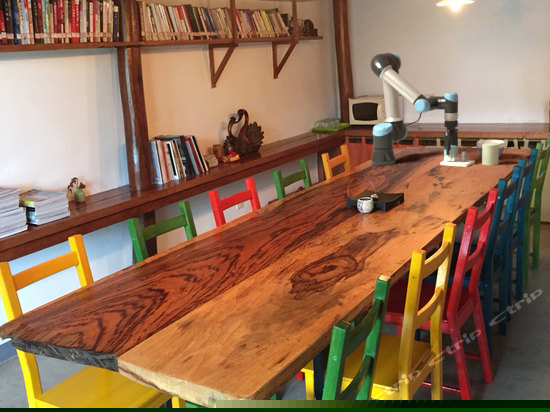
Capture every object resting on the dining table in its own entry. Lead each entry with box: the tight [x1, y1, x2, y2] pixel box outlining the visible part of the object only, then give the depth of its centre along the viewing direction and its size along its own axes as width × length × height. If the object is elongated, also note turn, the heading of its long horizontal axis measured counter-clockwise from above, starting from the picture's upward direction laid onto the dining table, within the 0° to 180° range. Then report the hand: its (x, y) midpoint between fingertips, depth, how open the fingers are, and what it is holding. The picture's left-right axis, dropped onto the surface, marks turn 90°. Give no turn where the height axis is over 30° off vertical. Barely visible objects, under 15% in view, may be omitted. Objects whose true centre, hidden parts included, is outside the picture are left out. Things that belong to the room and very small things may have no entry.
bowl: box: [476, 139, 506, 157], centre depth 380 cm, size 16×16×10 cm
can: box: [481, 143, 500, 167], centre depth 362 cm, size 9×9×12 cm
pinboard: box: [439, 150, 476, 168], centre depth 369 cm, size 16×12×8 cm
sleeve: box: [443, 145, 459, 161], centre depth 371 cm, size 6×6×8 cm
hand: (450, 159), depth 371 cm, fingers closed on sleeve, 6 cm apart
